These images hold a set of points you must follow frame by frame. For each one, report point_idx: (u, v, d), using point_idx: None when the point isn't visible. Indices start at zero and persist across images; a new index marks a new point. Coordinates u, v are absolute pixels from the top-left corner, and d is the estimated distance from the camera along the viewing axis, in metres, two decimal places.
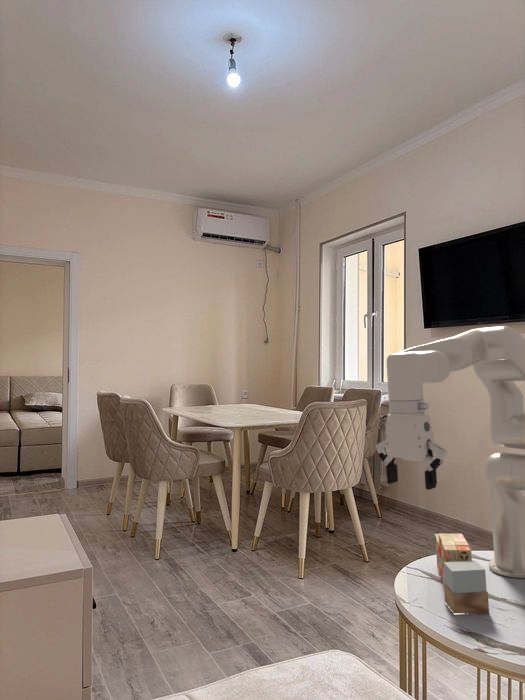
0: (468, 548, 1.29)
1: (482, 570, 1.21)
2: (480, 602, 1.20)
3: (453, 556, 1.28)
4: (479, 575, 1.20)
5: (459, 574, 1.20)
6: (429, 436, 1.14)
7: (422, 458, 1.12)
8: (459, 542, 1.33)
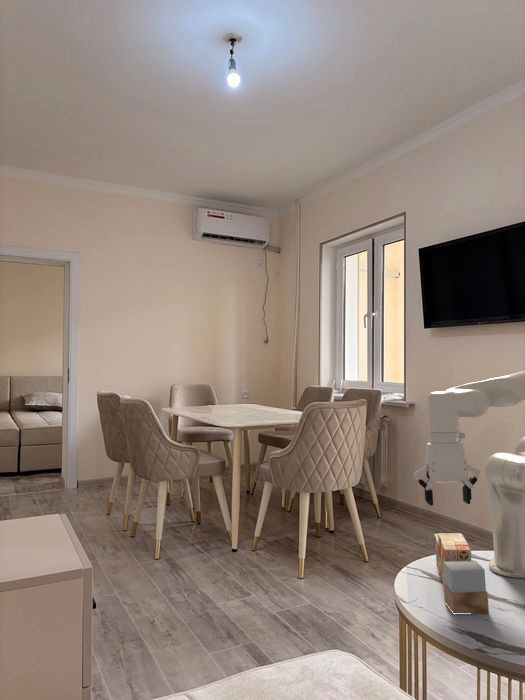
0: (468, 548, 1.29)
1: (481, 570, 1.21)
2: (479, 602, 1.20)
3: (453, 556, 1.28)
4: (478, 575, 1.21)
5: (458, 574, 1.21)
6: None
7: (466, 478, 1.37)
8: (459, 542, 1.33)
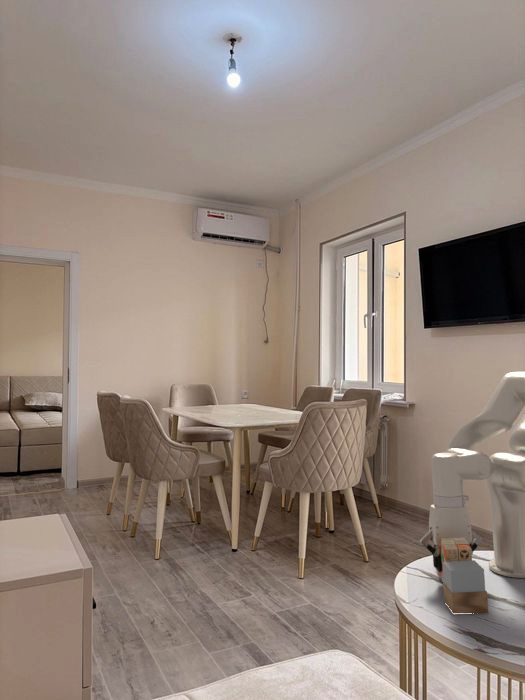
0: (469, 547, 1.29)
1: (481, 570, 1.21)
2: (479, 602, 1.20)
3: (453, 555, 1.29)
4: (477, 574, 1.21)
5: (458, 574, 1.21)
6: None
7: (470, 542, 1.36)
8: (459, 541, 1.33)
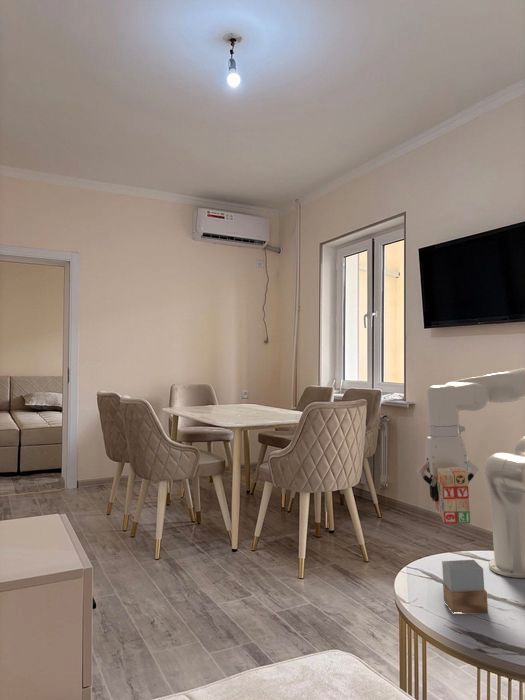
0: (465, 473, 1.30)
1: (480, 569, 1.21)
2: (478, 601, 1.20)
3: (450, 480, 1.29)
4: (476, 574, 1.21)
5: (457, 573, 1.21)
6: None
7: (466, 472, 1.37)
8: (455, 469, 1.34)
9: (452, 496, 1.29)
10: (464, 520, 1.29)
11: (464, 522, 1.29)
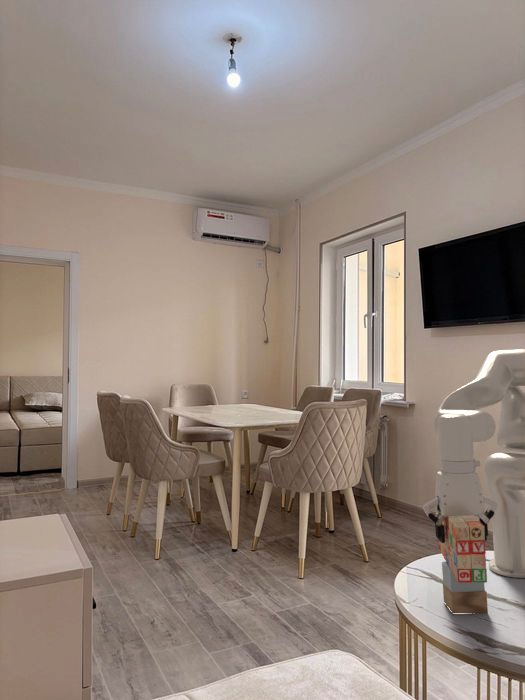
0: (481, 524, 1.15)
1: None
2: (478, 601, 1.20)
3: (464, 533, 1.14)
4: None
5: None
6: None
7: (482, 512, 1.22)
8: (469, 518, 1.19)
9: (467, 551, 1.14)
10: (480, 579, 1.14)
11: (480, 581, 1.14)
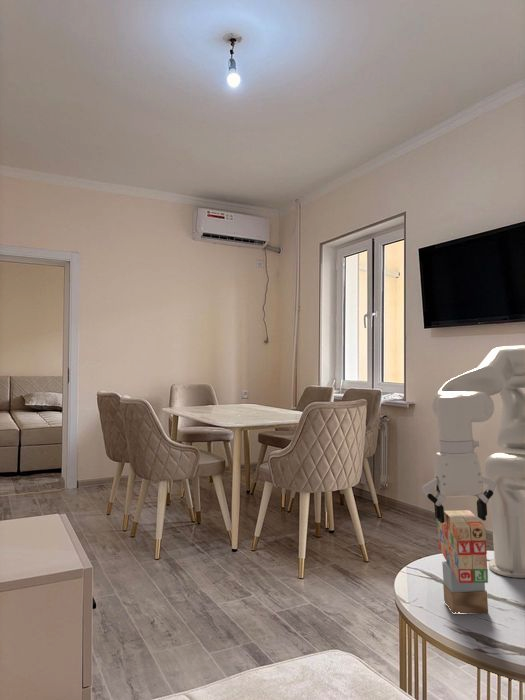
0: (482, 525, 1.15)
1: None
2: (479, 601, 1.20)
3: (465, 534, 1.14)
4: None
5: None
6: None
7: (481, 492, 1.22)
8: (470, 519, 1.19)
9: (468, 552, 1.14)
10: (481, 579, 1.14)
11: (481, 581, 1.14)
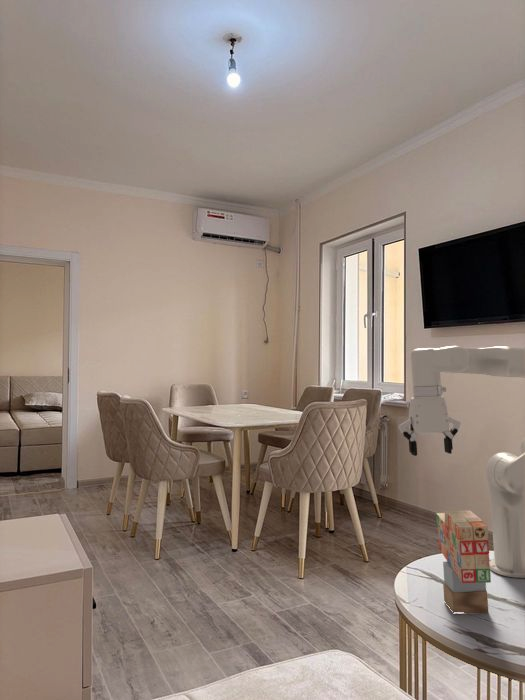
0: (484, 524, 1.15)
1: None
2: (479, 601, 1.20)
3: (468, 534, 1.14)
4: None
5: None
6: None
7: (447, 429, 1.45)
8: (471, 518, 1.19)
9: (470, 552, 1.14)
10: (484, 579, 1.14)
11: (484, 581, 1.14)
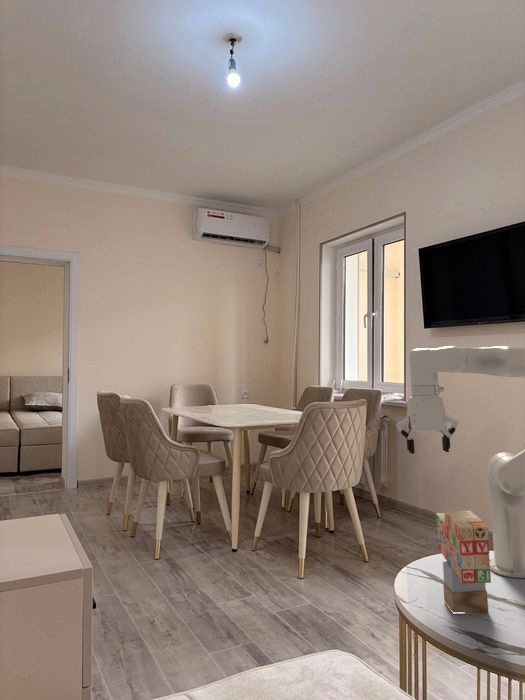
0: (484, 524, 1.15)
1: None
2: (479, 601, 1.20)
3: (468, 534, 1.14)
4: None
5: None
6: None
7: (445, 428, 1.47)
8: (471, 519, 1.19)
9: (471, 552, 1.14)
10: (484, 579, 1.13)
11: (484, 581, 1.13)
